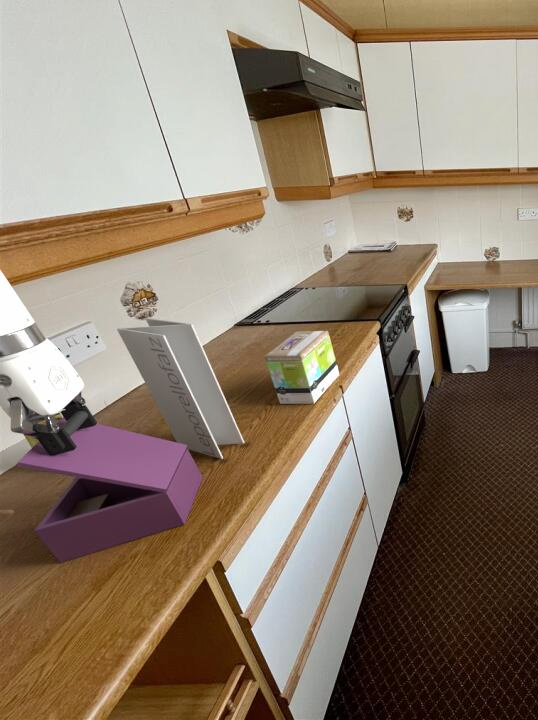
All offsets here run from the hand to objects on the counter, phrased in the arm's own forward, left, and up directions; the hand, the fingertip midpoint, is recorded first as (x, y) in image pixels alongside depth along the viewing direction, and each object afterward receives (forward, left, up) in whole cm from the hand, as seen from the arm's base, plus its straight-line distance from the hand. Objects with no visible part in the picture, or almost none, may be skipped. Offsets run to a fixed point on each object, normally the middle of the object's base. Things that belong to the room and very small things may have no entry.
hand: (75, 438), depth 67 cm
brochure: (+10, +18, -19) cm, 28 cm away
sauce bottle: (-20, +27, -19) cm, 39 cm away
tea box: (+31, +33, -19) cm, 49 cm away
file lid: (+3, 0, -5) cm, 6 cm away
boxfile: (+2, 0, -19) cm, 19 cm away
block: (-4, 0, -18) cm, 19 cm away
